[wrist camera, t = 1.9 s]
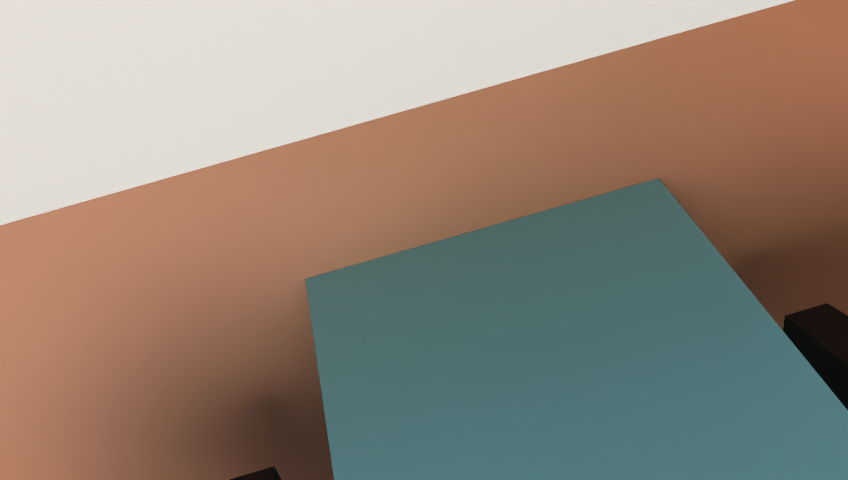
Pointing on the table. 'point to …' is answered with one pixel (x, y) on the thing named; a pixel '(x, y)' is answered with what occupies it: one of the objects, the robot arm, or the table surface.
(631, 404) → the teal block
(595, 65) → the table surface
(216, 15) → the cream base plate
